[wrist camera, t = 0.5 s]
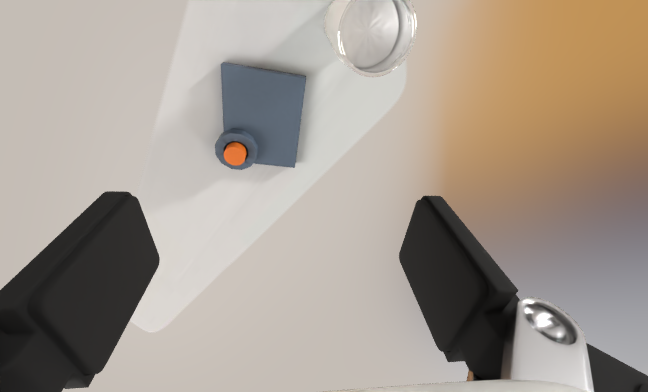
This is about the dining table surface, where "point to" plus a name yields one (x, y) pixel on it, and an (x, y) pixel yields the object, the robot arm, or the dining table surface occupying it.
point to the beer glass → (371, 33)
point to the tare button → (235, 153)
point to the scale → (261, 114)
